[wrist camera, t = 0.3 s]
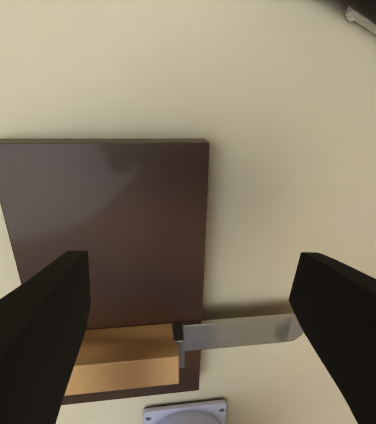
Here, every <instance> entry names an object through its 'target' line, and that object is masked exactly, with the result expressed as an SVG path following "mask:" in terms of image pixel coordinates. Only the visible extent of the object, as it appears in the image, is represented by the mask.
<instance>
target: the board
mask: <svg viewBox="0 0 376 424" xmlns="http://www.w3.org/2000/svg"><path fill="white" fill-rule="evenodd" d="M208 165H209V142H208V141H207V140H206V139H0V203H1V207H2V211H3V215H4V219H5V223H6V226H7V230H8V234H9V238H10V242H11V246H12V250H13V253H14V257H15V261H16V265H17V269H18V273H19V277H20V280H21V284H23V283H25V282H26V281H27V280H29V279H30V278H31V277H33V276H34V275H35V274H37V273H38V272H40V271H41V270H42V269H44V268H45V267H46V266H47V265H49V264H50V263H51V262H53V261H54V260H55V259H57V258H58V257H59V256H61V255H62V254H63V253H65V252H66V251H88V261H89V277H90V293H91V306H90V311H89V317H88V322H87V326H86V330H94V329H107V328H119V327H132V326H144V325H157V324H169V323H174V322H191V321H202V304H203V281H204V257H205V234H206V211H207V188H208ZM199 374H200V350H193V351H185V357H184V368H179V383H178V384H171V385H161V386H152V387H142V388H133V389H124V390H114V391H105V392H95V393H86V394H76V395H67V396H64V398H63V401H62V404H61V405H67V404H76V403H85V402H94V401H103V400H113V399H122V398H131V397H140V396H149V395H158V394H167V393H177V392H186V391H195V390H199Z"/></svg>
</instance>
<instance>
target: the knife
mask: <svg viewBox="0 0 376 424" xmlns="http://www.w3.org/2000/svg"><path fill="white" fill-rule="evenodd" d="M303 332H304V331H303V330H302V328H301V326H300V324H299V322H298V320H297V318H296V316H295V314H278V315H266V316H253V317H241V318H228V319H216V320H203V321H191V322H174V323H169V324H157V325H144V326H132V327H119V328H107V329H94V330H86V331H85V335H84V338H83V341H82V344H81V347H80V350H79V353H78V356H77V359H76V362H75V365H74V368H73V371H72V374H71V377H70V380H69V383H68V386H67V389H66V392H65V395H64V396H67V395H76V394H86V393H95V392H105V391H114V390H124V389H133V388H142V387H152V386H161V385H171V384H178V383H179V368H184V357H185V351H193V350H204V349H215V348H225V347H236V346H247V345H258V344H269V343H280V342H289V341H293V340H295V339H297V338H298V337H300V336H301V335H302V334H303Z"/></svg>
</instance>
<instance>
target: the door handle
mask: <svg viewBox="0 0 376 424" xmlns="http://www.w3.org/2000/svg"><path fill="white" fill-rule="evenodd" d="M340 1H342V2H343V3H345V4H346V5H348V8H347V10H346V12H345V14H344V15H346V18H347V20H348V21H350V22H352V21H355V22H356V23H358V24H360V25H361V26H363V27H364V28H366V29H367V30H369V31H370V32H372V33H373V34H375V35H376V0H340Z"/></svg>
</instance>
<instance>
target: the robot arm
mask: <svg viewBox="0 0 376 424" xmlns="http://www.w3.org/2000/svg"><path fill="white" fill-rule="evenodd" d="M289 302H290V304H291V306H292V309H293V311H294V314H295V316H296V318H297V320H298V322H299V324H300V326H301V328H302V330H303V331H304V333H305V335H306V336H307V338H308V340H309V341H310V343H311V345H312V346H313V348H314V349H315V351H316V353H317V354H318V356H319V357H320V359H321V361H322V362H323V364H324V365H325V367H326V369H327V370H328V372H329V374H330V375H331V377H332V378H333V380H334V382H335V383H336V385H337V386H338V388H339V390H340V391H341V393H342V395H343V397H344V398H345V400H346V402H347V403H348V405H349V407H350V409H351V411H352V413H353V415H354V417H355V419H356V421H357V423H358V424H376V279H374V278H372V277H370V276H368V275H366V274H364V273H362V272H360V271H358V270H356V269H354V268H352V267H350V266H348V265H346V264H343V263H341V262H339V261H337V260H335V259H333V258H330V257H328V256H325V255H323V254H320V253H310V252H301V255H300V259H299V263H298V266H297V270H296V274H295V278H294V282H293V285H292V289H291V293H290V297H289ZM90 306H91V293H90V277H89V261H88V251H66V252H65V253H63V254H62V255H61V256H59V257H58V258H57V259H55V260H54V261H53V262H51V263H50V264H49V265H47V266H46V267H45V268H44V269H42V270H41V271H40V272H38V273H37V274H35V275H34V276H33V277H31V278H30V279H29V280H27V281H26V282H25V283H23V284H22V285H21V286H19V287H18V288H16V289H15V290H13V291H12V292H10V293H9V294H7V295H6V296H4V297H3V298H1V299H0V424H56V420H57V417H58V413H59V410H60V407H61V404H62V401H63V398H64V395H65V392H66V389H67V386H68V383H69V380H70V377H71V374H72V371H73V368H74V365H75V362H76V359H77V356H78V353H79V350H80V347H81V344H82V341H83V338H84V335H85V331H86V326H87V322H88V317H89V311H90ZM226 411H227V403H226V401H225V400H213V401H204V402H196V403H187V404H178V405H169V406H161V407H152V408H146V409H144V410H143V424H225V420H226Z"/></svg>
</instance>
